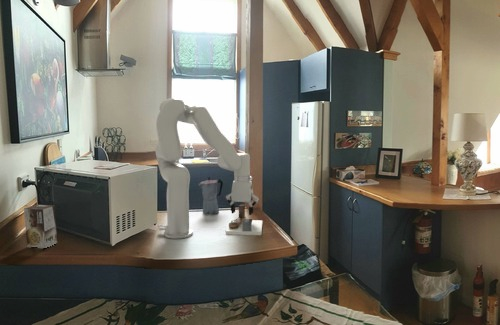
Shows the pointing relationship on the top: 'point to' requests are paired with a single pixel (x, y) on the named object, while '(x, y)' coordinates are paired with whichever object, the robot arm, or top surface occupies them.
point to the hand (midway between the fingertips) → (242, 213)
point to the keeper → (245, 224)
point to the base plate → (238, 231)
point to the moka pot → (210, 195)
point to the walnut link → (240, 218)
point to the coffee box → (40, 226)
